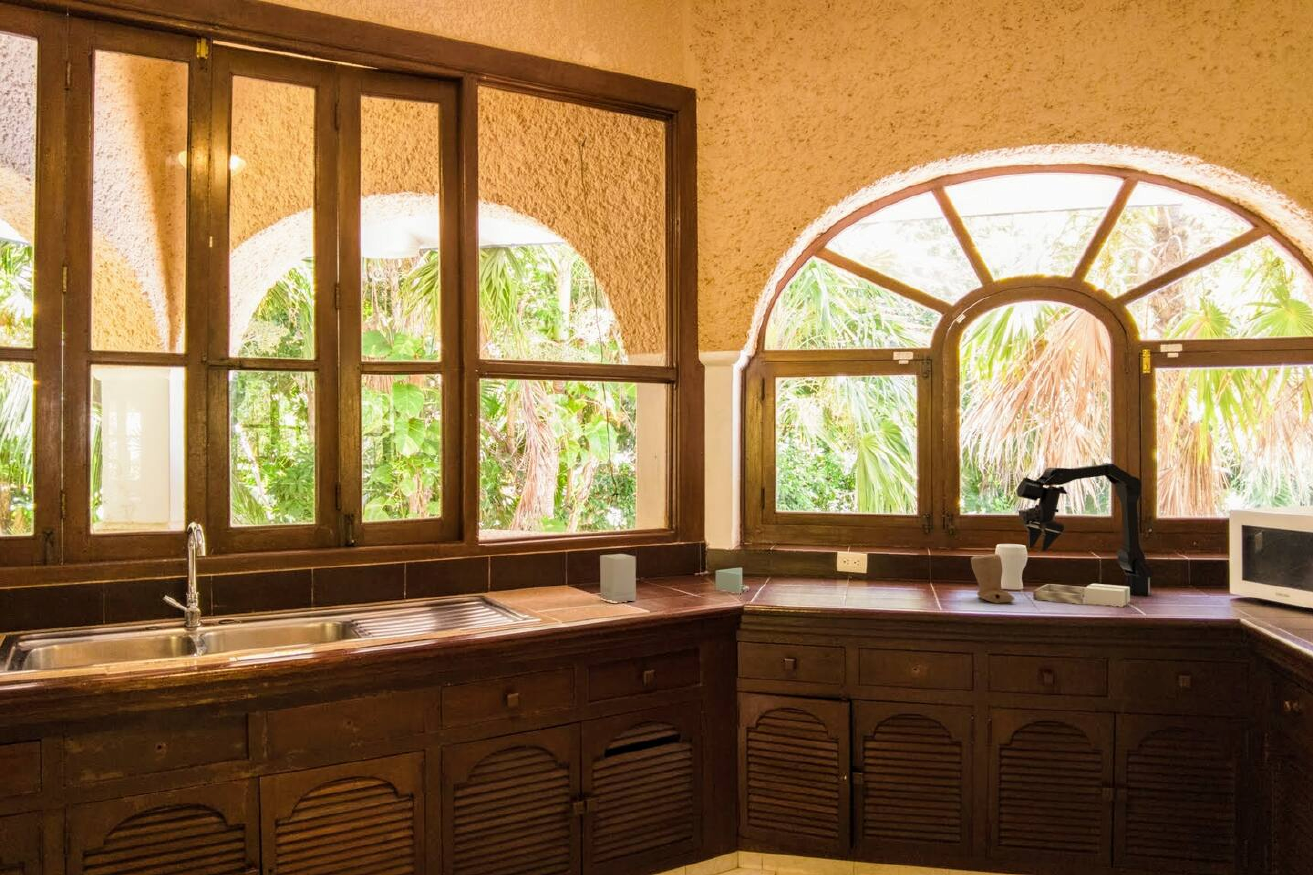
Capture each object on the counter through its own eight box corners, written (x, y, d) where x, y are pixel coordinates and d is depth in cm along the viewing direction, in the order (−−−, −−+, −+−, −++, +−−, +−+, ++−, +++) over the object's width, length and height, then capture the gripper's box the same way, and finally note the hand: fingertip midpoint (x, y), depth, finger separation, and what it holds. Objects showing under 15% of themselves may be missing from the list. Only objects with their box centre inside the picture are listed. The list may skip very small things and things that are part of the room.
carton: (1130, 602, 286) (1130, 586, 286) (1122, 607, 278) (1122, 591, 278) (1092, 598, 293) (1092, 583, 293) (1084, 603, 285) (1083, 587, 285)
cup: (990, 585, 319) (989, 543, 319) (1018, 585, 320) (1018, 543, 320) (1004, 590, 309) (1003, 547, 309) (1033, 590, 310) (1033, 546, 310)
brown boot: (969, 595, 300) (968, 551, 300) (1006, 596, 298) (1006, 551, 298) (975, 603, 285) (975, 556, 285) (1014, 604, 283) (1014, 557, 283)
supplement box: (636, 601, 292) (636, 556, 292) (612, 604, 287) (612, 558, 287) (623, 597, 300) (623, 553, 300) (599, 600, 295) (599, 555, 295)
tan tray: (1094, 597, 295) (1094, 588, 295) (1082, 604, 282) (1082, 594, 282) (1047, 592, 305) (1047, 583, 305) (1033, 599, 292) (1033, 590, 292)
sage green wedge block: (739, 596, 304) (739, 574, 304) (715, 591, 314) (715, 570, 314) (764, 592, 312) (764, 571, 312) (740, 588, 321) (740, 567, 321)
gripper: (1013, 496, 309) (1002, 540, 308) (1037, 500, 290) (1026, 546, 290) (1043, 504, 309) (1033, 548, 309) (1070, 508, 290) (1059, 555, 290)
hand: (1037, 549), depth 299 cm, fingers open, 9 cm apart
